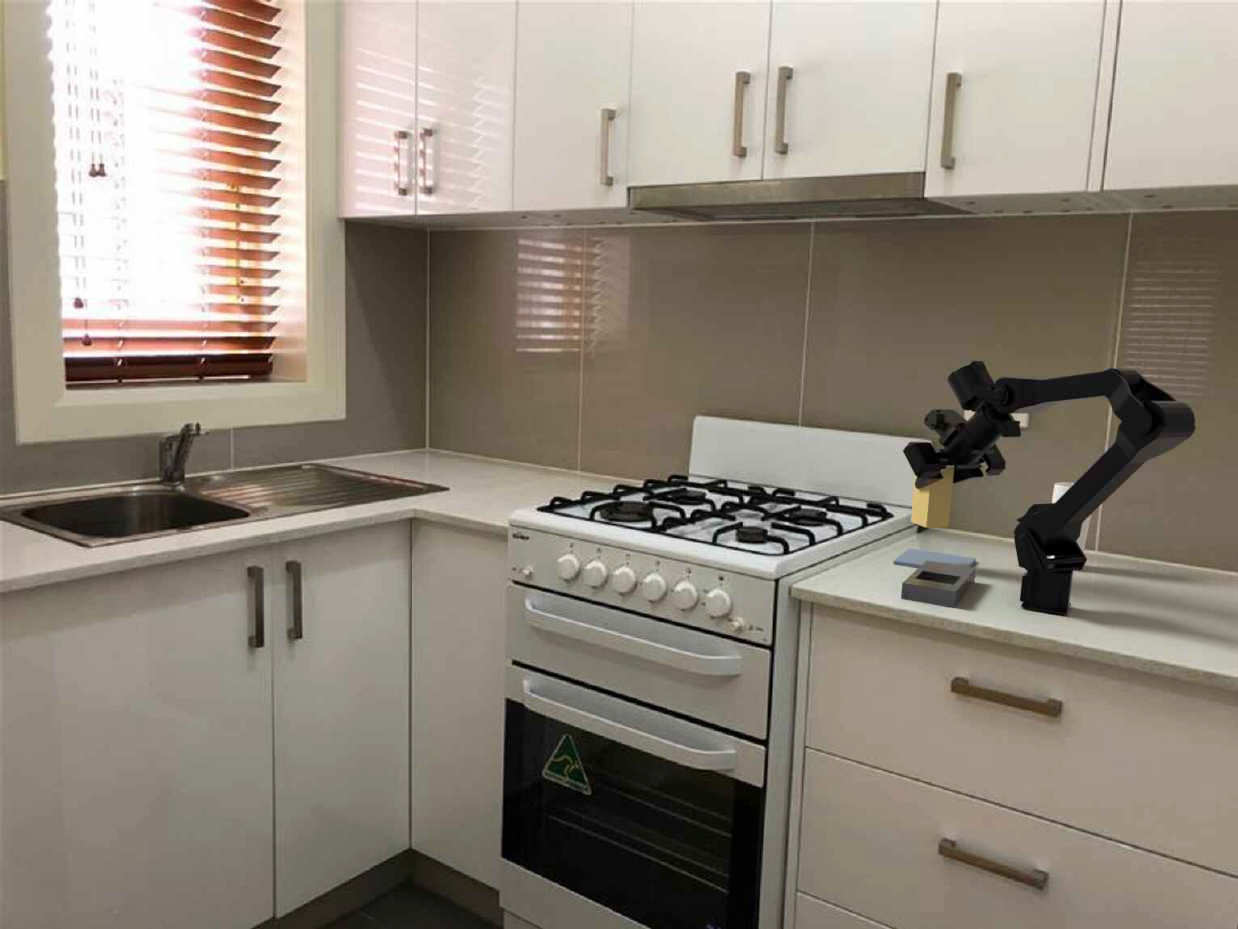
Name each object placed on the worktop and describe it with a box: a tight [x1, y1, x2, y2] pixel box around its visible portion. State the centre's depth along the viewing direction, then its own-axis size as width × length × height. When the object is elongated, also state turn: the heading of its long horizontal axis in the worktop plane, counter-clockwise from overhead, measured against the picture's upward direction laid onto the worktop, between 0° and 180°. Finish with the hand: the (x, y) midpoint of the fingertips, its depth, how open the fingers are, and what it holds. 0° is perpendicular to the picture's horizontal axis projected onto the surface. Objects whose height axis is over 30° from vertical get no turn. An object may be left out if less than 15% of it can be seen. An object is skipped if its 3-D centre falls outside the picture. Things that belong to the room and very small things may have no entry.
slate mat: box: [892, 548, 976, 569], centre depth 179 cm, size 12×12×1 cm
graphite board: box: [900, 560, 977, 608], centre depth 160 cm, size 8×18×2 cm, turn 151°
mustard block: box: [910, 467, 954, 529], centre depth 174 cm, size 5×5×11 cm
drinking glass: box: [1049, 482, 1093, 559], centre depth 179 cm, size 7×7×15 cm
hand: (927, 486), depth 175 cm, fingers closed on mustard block, 5 cm apart
